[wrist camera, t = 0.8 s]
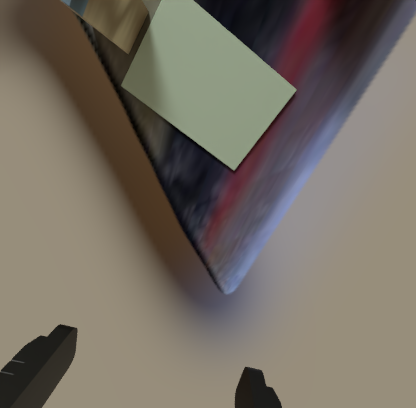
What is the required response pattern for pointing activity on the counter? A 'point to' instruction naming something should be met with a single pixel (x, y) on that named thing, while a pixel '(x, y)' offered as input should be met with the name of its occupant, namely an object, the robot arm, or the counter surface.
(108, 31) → the maple block
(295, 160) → the counter surface
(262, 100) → the green mat
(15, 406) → the robot arm
